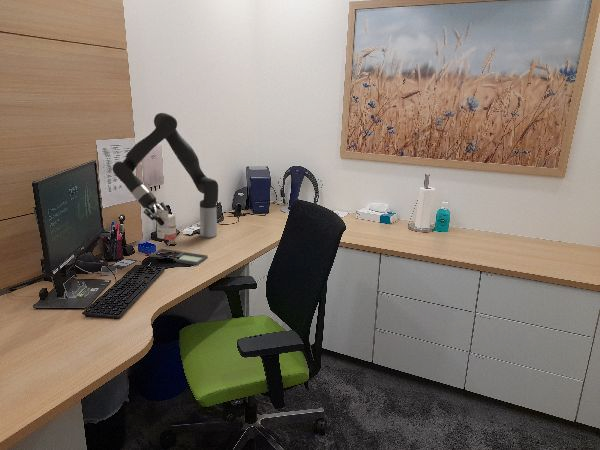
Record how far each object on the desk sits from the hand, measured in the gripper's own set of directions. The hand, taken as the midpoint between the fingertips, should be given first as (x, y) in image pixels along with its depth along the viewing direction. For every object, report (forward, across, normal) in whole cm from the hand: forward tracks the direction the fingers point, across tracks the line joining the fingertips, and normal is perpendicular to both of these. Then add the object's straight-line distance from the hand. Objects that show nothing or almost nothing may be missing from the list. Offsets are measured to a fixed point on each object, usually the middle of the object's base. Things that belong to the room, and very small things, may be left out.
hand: (166, 222), depth 211 cm
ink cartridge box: (+6, 0, +6) cm, 8 cm away
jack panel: (+17, 0, +8) cm, 18 cm away
